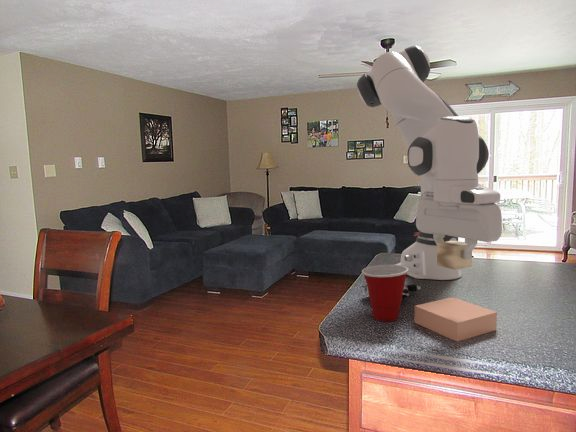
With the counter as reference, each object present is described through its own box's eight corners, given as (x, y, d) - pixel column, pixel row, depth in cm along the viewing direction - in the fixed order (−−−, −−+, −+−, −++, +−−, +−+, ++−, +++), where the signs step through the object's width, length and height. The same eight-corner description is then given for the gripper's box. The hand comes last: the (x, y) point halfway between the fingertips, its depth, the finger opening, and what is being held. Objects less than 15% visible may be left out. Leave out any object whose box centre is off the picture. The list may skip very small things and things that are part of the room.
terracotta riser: (414, 322, 95) (414, 305, 94) (451, 313, 100) (452, 297, 100) (457, 341, 84) (457, 322, 84) (496, 329, 90) (497, 312, 89)
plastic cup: (366, 307, 106) (366, 261, 104) (410, 312, 102) (411, 264, 100) (356, 322, 96) (356, 271, 94) (404, 328, 92) (405, 275, 90)
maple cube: (436, 265, 92) (437, 242, 91) (453, 262, 94) (453, 240, 93) (455, 269, 87) (455, 246, 87) (471, 266, 90) (472, 243, 89)
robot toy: (382, 290, 123) (357, 299, 111) (382, 275, 123) (358, 283, 111) (422, 297, 116) (401, 308, 104) (423, 281, 115) (402, 291, 103)
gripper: (409, 191, 97) (409, 249, 98) (486, 196, 78) (483, 267, 80) (429, 190, 99) (429, 246, 101) (508, 194, 81) (505, 263, 83)
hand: (454, 256), depth 90 cm, fingers closed on maple cube, 5 cm apart
